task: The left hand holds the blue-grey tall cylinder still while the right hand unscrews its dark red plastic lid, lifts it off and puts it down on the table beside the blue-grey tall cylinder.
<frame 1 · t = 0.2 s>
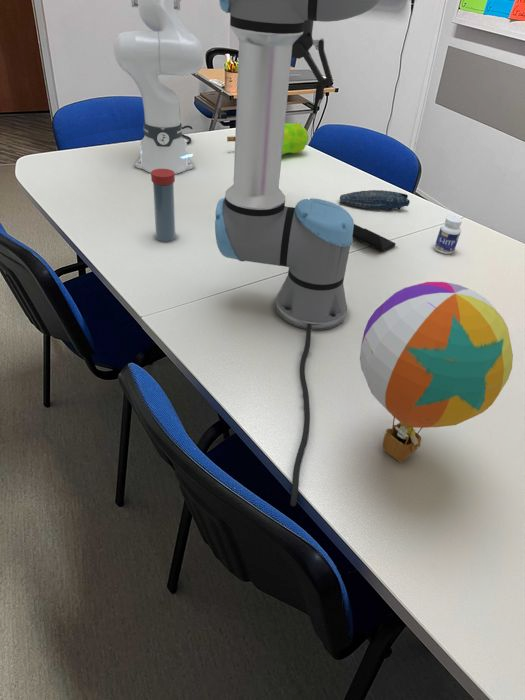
left hand: (156, 8, 119), 48 cm above the table, tool pointing down, fingers open, 8 cm apart
right hand: (288, 109, 135), 28 cm above the table, tool pointing down, fingers open, 13 cm apart
blue-grey tall cylinder: (165, 237, 134), on the table
fish model: (372, 206, 160), on the table
toy: (397, 452, 83), on the table
lid: (162, 174, 124), point 17 cm above the table, screwed on, not yet turned
decorative tree: (267, 153, 192), on the table
pill bottle: (443, 250, 140), on the table
handheld gaming console: (368, 243, 140), on the table
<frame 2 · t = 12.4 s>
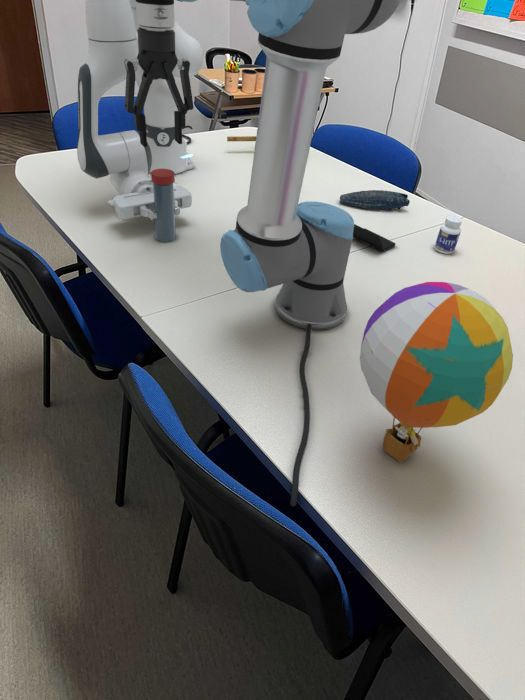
left hand: (166, 214, 129), 7 cm above the table, tool horizontal, fingers closed on blue-grey tall cylinder, 5 cm apart
right hand: (161, 143, 119), 24 cm above the table, tool pointing down, fingers open, 8 cm apart
blue-grey tall cylinder: (165, 237, 134), on the table, touching left hand
everything else where it was.
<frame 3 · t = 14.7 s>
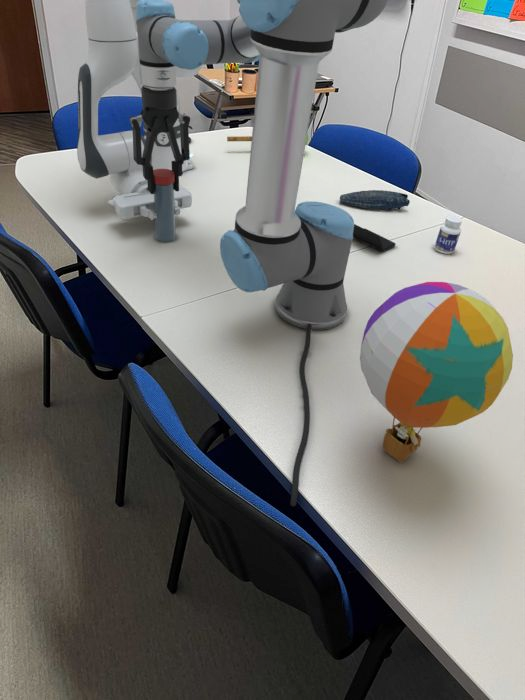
left hand: (166, 214, 129), 7 cm above the table, tool horizontal, fingers closed on blue-grey tall cylinder, 5 cm apart
right hand: (163, 190, 126), 13 cm above the table, tool pointing down, fingers closed on lid, 5 cm apart
blue-grey tall cylinder: (165, 237, 134), on the table, touching left hand
lid: (162, 174, 124), point 17 cm above the table, screwed on, not yet turned, touching right hand
everything else where it was.
when the right hand's fingers open (13 cm above the table, at t = 16.0 s): lid stays where it is, point 17 cm above the table.
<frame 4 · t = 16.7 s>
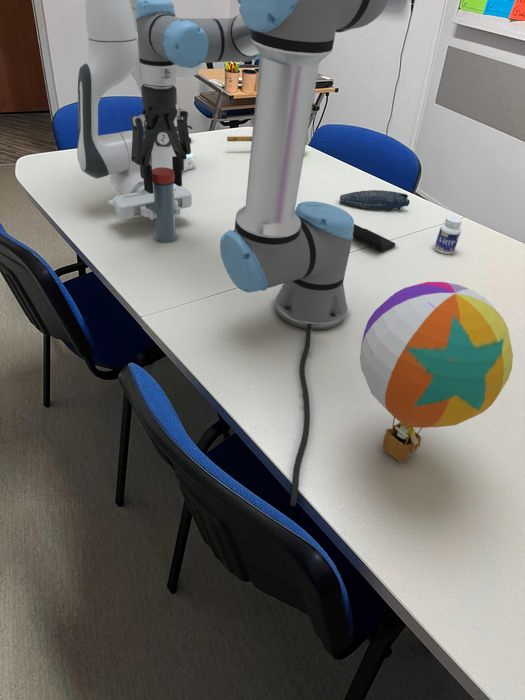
left hand: (166, 214, 129), 7 cm above the table, tool horizontal, fingers closed on blue-grey tall cylinder, 5 cm apart
right hand: (163, 187, 126), 13 cm above the table, tool pointing down, fingers open, 8 cm apart
blue-grey tall cylinder: (165, 237, 134), on the table, touching left hand
lid: (162, 172, 124), point 17 cm above the table, turned 99° so far, risen 0.3 cm, still on its thread
everything else where it was.
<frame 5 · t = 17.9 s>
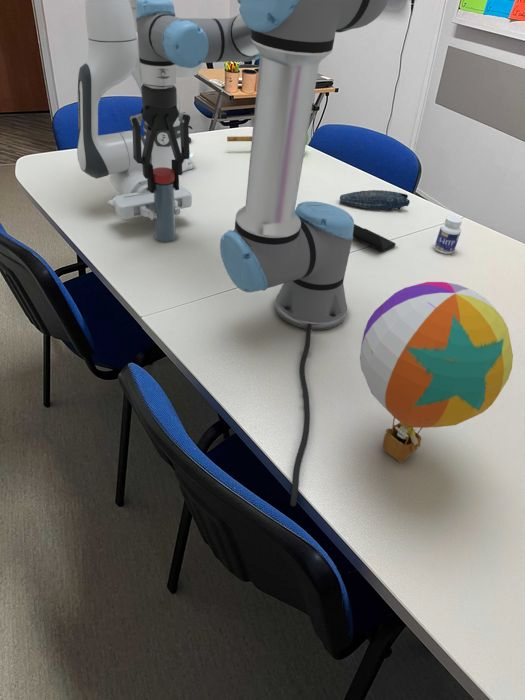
left hand: (166, 214, 129), 7 cm above the table, tool horizontal, fingers closed on blue-grey tall cylinder, 5 cm apart
right hand: (163, 189, 126), 13 cm above the table, tool pointing down, fingers closed on lid, 5 cm apart
blue-grey tall cylinder: (165, 237, 134), on the table, touching left hand
lid: (162, 172, 124), point 17 cm above the table, turned 99° so far, risen 0.3 cm, still on its thread, touching right hand
everything else where it was.
when the right hand's fingers open (0 cm above the table, at t = 24.1 s): lid stays where it is, point 2 cm above the table.
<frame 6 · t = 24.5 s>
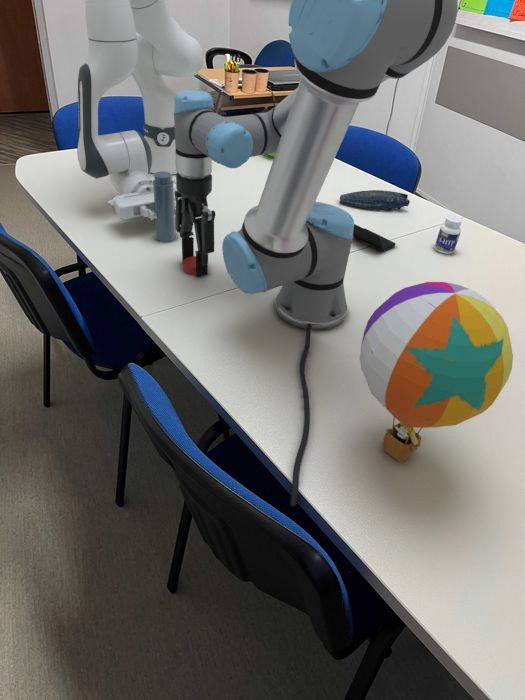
left hand: (166, 214, 129), 7 cm above the table, tool horizontal, fingers closed on blue-grey tall cylinder, 5 cm apart
right hand: (194, 269, 123), 0 cm above the table, tool pointing down, fingers open, 6 cm apart
blue-grey tall cylinder: (165, 237, 134), on the table, touching left hand
lid: (194, 262, 122), point 2 cm above the table, off its thread
everything else where it was.
when the left hand's fingers open (7 cm above the table, at t = 25.9 s): blue-grey tall cylinder stays where it is, on the table.
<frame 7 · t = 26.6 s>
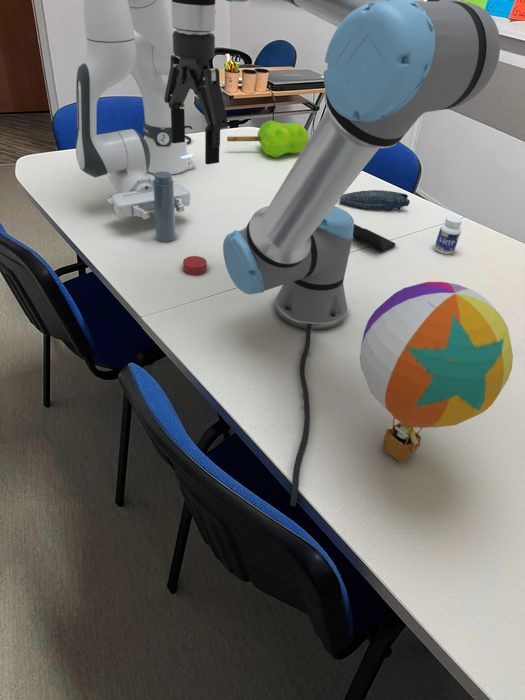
left hand: (164, 212, 130), 7 cm above the table, tool horizontal, fingers open, 8 cm apart
right hand: (194, 152, 106), 27 cm above the table, tool pointing down, fingers open, 13 cm apart
blue-grey tall cylinder: (165, 237, 134), on the table
everything else where it was.
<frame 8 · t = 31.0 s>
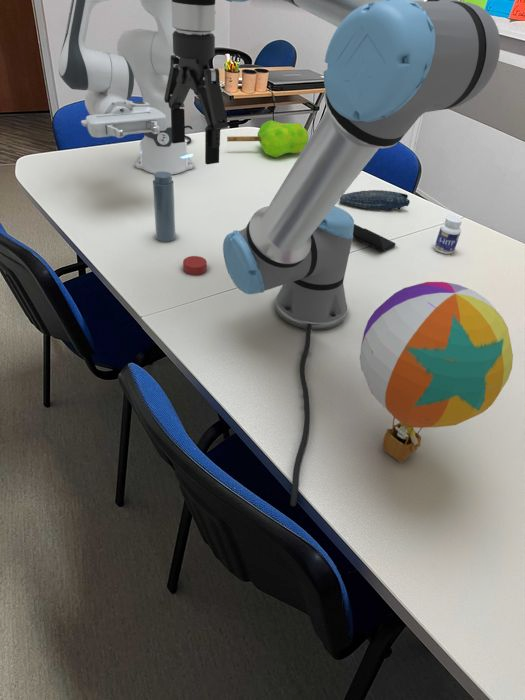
left hand: (139, 132, 128), 23 cm above the table, tool horizontal, fingers open, 8 cm apart
right hand: (194, 152, 106), 27 cm above the table, tool pointing down, fingers open, 13 cm apart
nothing on the table moved.
at the end: lid came off its thread; lid point 1.6 cm above the table; the left hand is holding nothing; the right hand is holding nothing; blue-grey tall cylinder tilted 0°; blue-grey tall cylinder moved 0.0 cm from its start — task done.
